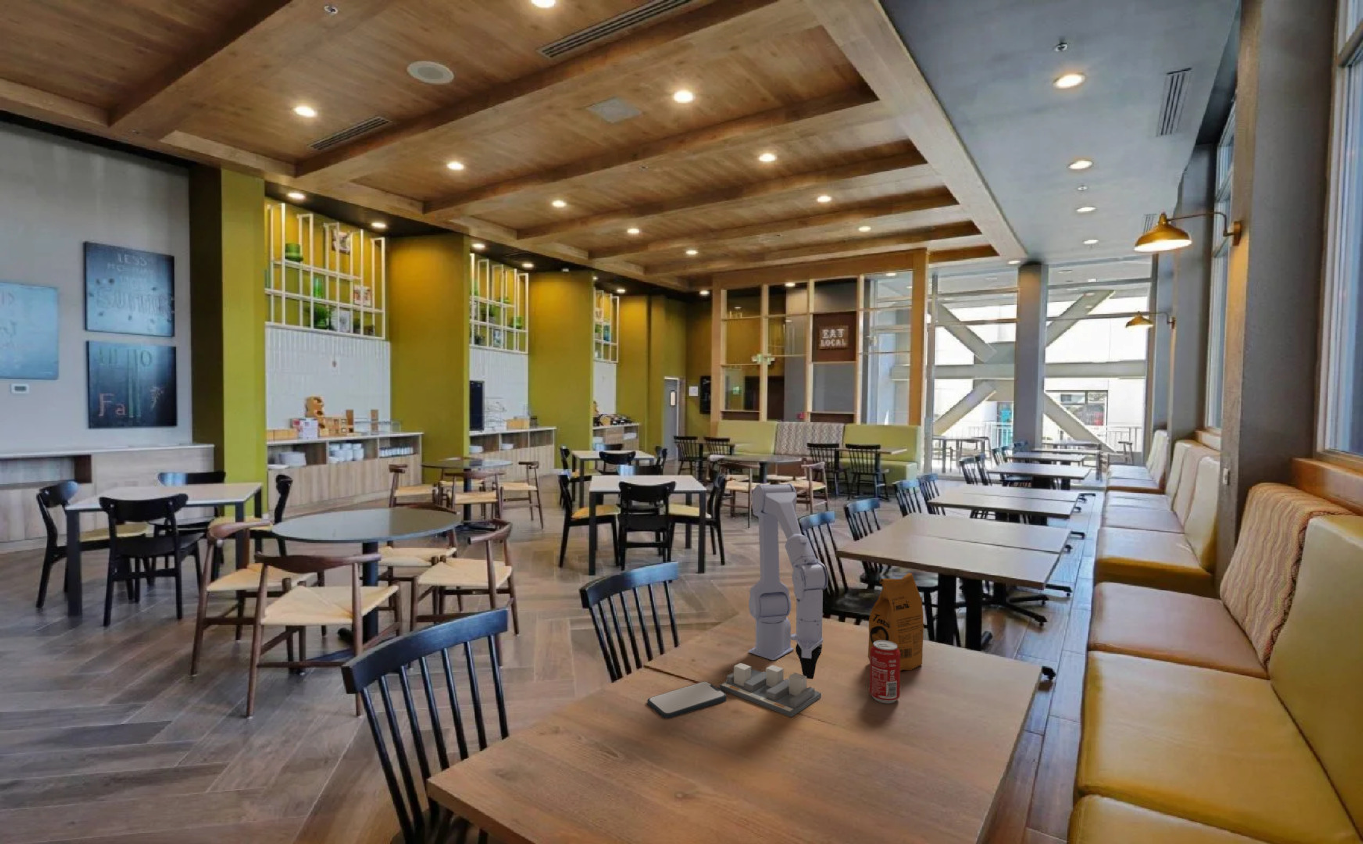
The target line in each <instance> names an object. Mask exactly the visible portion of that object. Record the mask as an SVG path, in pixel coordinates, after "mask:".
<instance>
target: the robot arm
mask: <svg viewBox="0 0 1363 844" xmlns="http://www.w3.org/2000/svg"><path fill="white" fill-rule="evenodd" d="M751 495H752V496H751V497H752V498H751V501H752V514H753V516H755V517H757V518H758V534H759V535H758V536H759V538H758V541H759V542H758V543H759V569H760V570H759V573H760V576H759V577H760V579H759V580H758V581H757V582H756V583H755V584H753V585H752V586H750V589H749V599H748V610H749V614H750V615H751V616H752V618H753V619H755V646H754V647H752V648H751V649H748V653H750V654H753V655H755V656H759V657H762V658H765V659H767V660H771V661H775V660H777V659H778V660H779V658H781V657H783V656H785V655H788V654H789V653H791V652H792V651H794V650H795V653H796V655H797V657H798V659H799V663H800V667H801V673H802V675H804V676H807V680H813V679H814V677H815V673H816V668H817V667H816V666H817V663H818V660H819V658H820V656H821V654H822V650H823V643H824V637H823V601H824V600H823V597H824V596H823V595H824V594H823V593H824V592H823V591H824V590H826V588H827V587H828V584H829V577H828V576H829V575H828V571H827V568H826V566H825V564H824V563H822V562H821V560H820V559H819V558H816V555H815V552H814V549H813V548H812V545H811V542H810V539H809V538H808V537H807V536H805V535H803V534H802V530H801V528H800V523H799V520H798V517H797V513H796V508H797V507H796V506H797V499H798V497H797V496H798V494H797V490H796V488H795V486H794V485H793V484H792V483H790V482H789V483H785V484H783V483H782V484H756V486H755V487H754V488H753V491H752V494H751ZM779 525H780V528H781V530H782V531H783V533H784V536H785V538H786V539H787V540H786V542H785V545H784V547H785V550H786V553H787V555H788V559H789V561H790V565H791V567H792V569H793V570H792V574H791V581H792V584H793V594H794V596H795V598H796V601H795V603H796V608H795V610H796V613H795V616H796V617H795V625H796V626H795V633H792V627H791V626H792V625H791V622H790V620H789V618H788V616H789V615H790V614H791V611H792V600H791V596H790V590H789V587H788V586H787V585H786V584H784V583H783V582H782V581H780V580H781V579H780V578H781V576H780V547H779V546H780V545H779V543H780V542H779ZM791 641H795V642H796V645H795V649H794V647H792V643H791Z"/></svg>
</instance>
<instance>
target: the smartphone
mask: <svg viewBox="0 0 1363 844" xmlns="http://www.w3.org/2000/svg"><path fill="white" fill-rule="evenodd" d="M726 700H727V692H725V691H723V690H720V689H719V688H718V687H717V686H715V685H714V684H712V683H711V682H709V681H700V682H698V683H694V684H691V685H687V686H684V687H681V688H677V689H674V690H671V691H667V692H664V693H661V694H658V695H654V696H651V697H649V698H647V702H646V704H647V705H648V707H650V708H651V709H652V710H653V711H655V712H656V713H657V714H659V715H660V717H661V718H664V719H673V718H675V717H678V715H679V716H681V714H682V715H685V714H689V713H692V712H696V711H699V710H702V709H704V707H705V708H708V707H711V706H715V705H718V704H721V703H725V702H726ZM717 703H718V704H717ZM701 708H702V709H701ZM698 709H699V710H698ZM695 710H696V711H695ZM691 711H692V712H691ZM688 712H689V713H688Z"/></svg>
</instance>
